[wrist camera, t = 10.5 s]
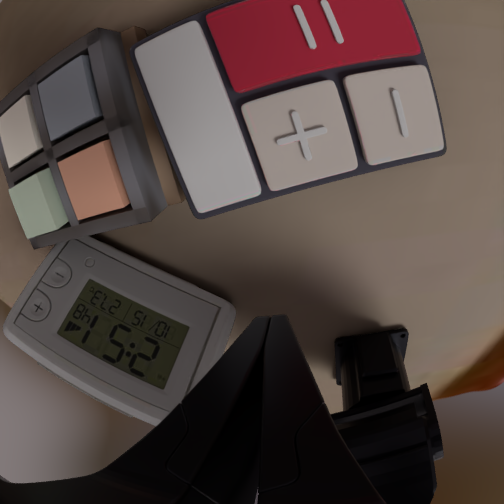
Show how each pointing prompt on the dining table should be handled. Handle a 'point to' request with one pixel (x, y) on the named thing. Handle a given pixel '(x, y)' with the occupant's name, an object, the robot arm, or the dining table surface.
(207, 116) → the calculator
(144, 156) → the keypad
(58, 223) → the key sage
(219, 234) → the dining table surface
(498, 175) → the dining table surface
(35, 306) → the digital clock
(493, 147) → the dining table surface
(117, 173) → the key terracotta
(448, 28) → the dining table surface
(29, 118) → the key cream
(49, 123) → the key slate
